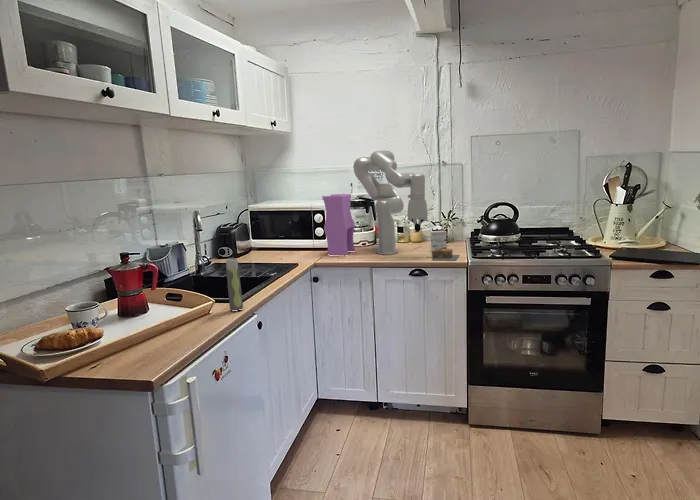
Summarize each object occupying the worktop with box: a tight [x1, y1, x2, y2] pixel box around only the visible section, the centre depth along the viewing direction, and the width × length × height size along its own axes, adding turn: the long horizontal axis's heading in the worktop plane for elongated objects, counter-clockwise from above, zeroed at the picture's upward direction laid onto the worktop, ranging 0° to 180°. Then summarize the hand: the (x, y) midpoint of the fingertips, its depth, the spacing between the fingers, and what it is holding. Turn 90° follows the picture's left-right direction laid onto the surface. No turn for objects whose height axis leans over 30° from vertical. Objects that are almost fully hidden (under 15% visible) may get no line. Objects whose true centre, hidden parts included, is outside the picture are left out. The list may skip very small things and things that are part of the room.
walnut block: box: [431, 248, 454, 259], centre depth 254 cm, size 4×6×10 cm
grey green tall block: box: [225, 257, 244, 310], centre depth 178 cm, size 5×5×20 cm
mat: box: [432, 254, 460, 262], centre depth 253 cm, size 12×14×1 cm
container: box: [321, 193, 357, 256], centre depth 280 cm, size 14×14×35 cm
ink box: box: [430, 230, 448, 253], centre depth 272 cm, size 9×5×12 cm, turn 84°
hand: (417, 231), depth 257 cm, fingers closed
